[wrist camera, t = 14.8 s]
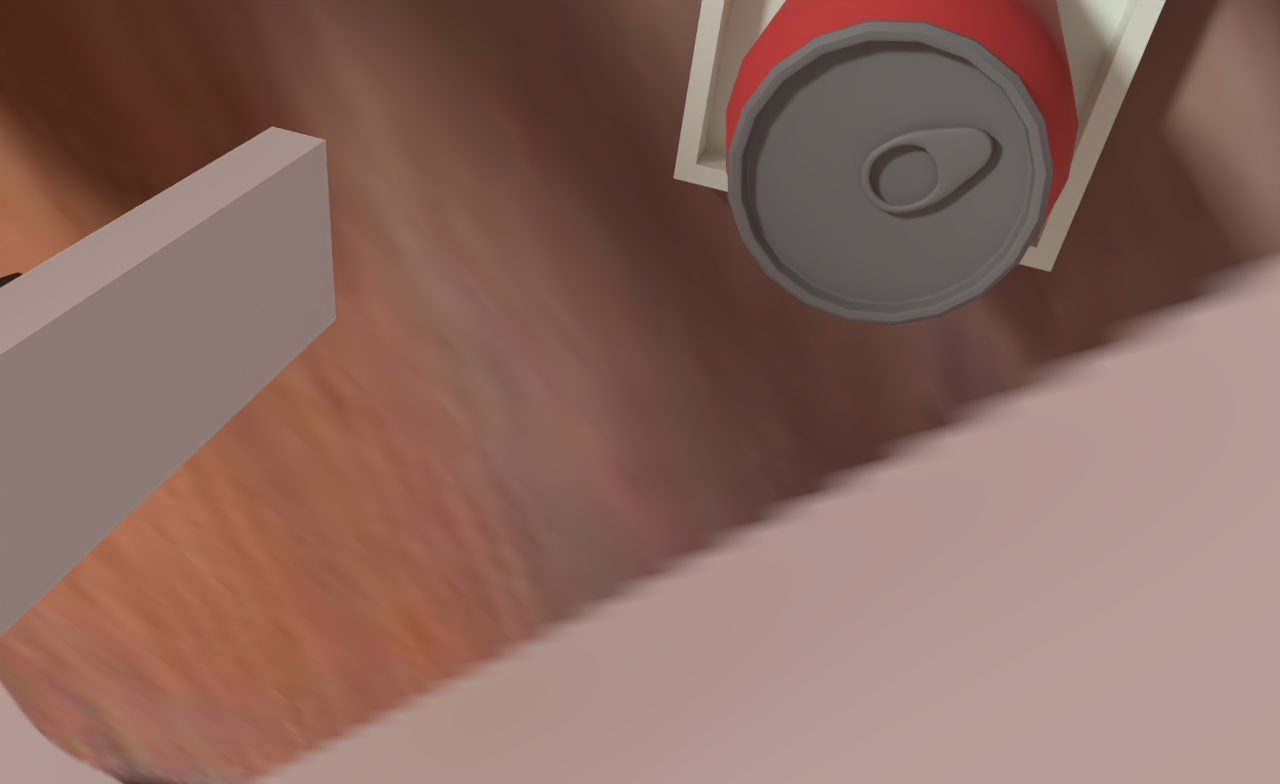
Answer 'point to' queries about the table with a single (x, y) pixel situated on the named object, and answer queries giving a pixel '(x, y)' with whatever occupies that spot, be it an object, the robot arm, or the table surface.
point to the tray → (1098, 60)
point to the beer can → (899, 149)
